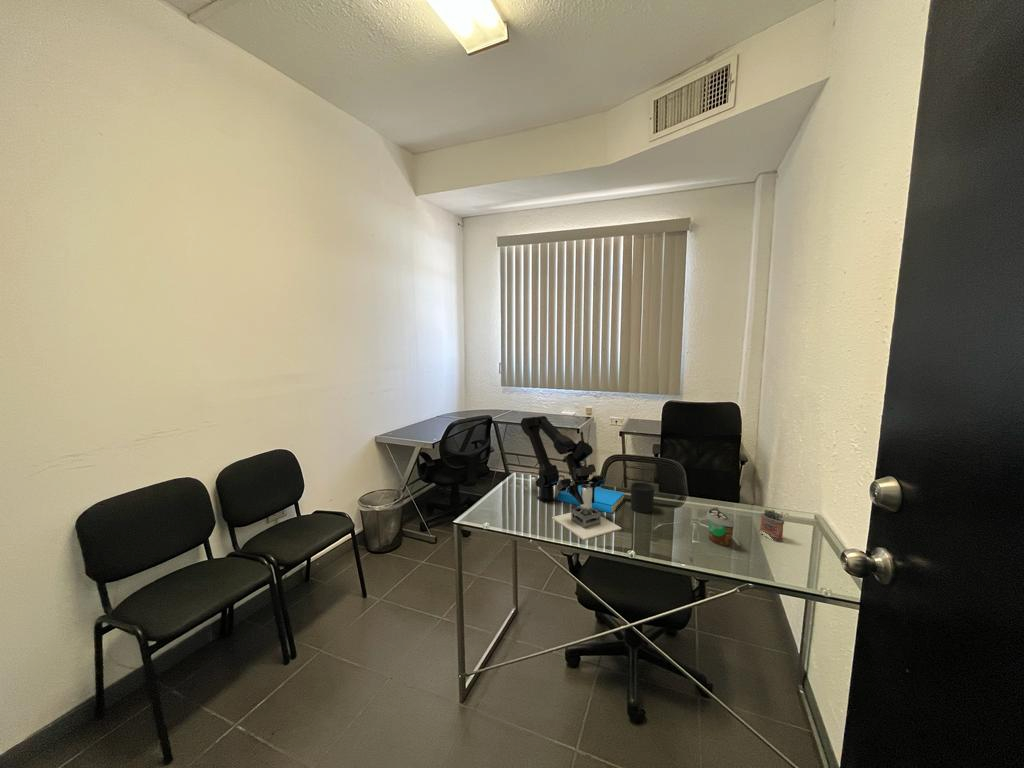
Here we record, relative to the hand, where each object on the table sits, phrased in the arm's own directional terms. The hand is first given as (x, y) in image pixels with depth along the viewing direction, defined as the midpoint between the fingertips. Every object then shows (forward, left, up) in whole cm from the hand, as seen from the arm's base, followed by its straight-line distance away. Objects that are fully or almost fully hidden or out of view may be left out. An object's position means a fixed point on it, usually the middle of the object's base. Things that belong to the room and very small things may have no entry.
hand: (587, 503), depth 154 cm
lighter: (+39, +53, -9) cm, 66 cm away
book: (-19, +17, -9) cm, 27 cm away
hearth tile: (-1, 0, -9) cm, 9 cm away
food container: (+31, +33, -9) cm, 46 cm away
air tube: (-1, 0, -7) cm, 7 cm away
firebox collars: (-1, 0, -9) cm, 9 cm away
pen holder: (-1, +30, -9) cm, 32 cm away
